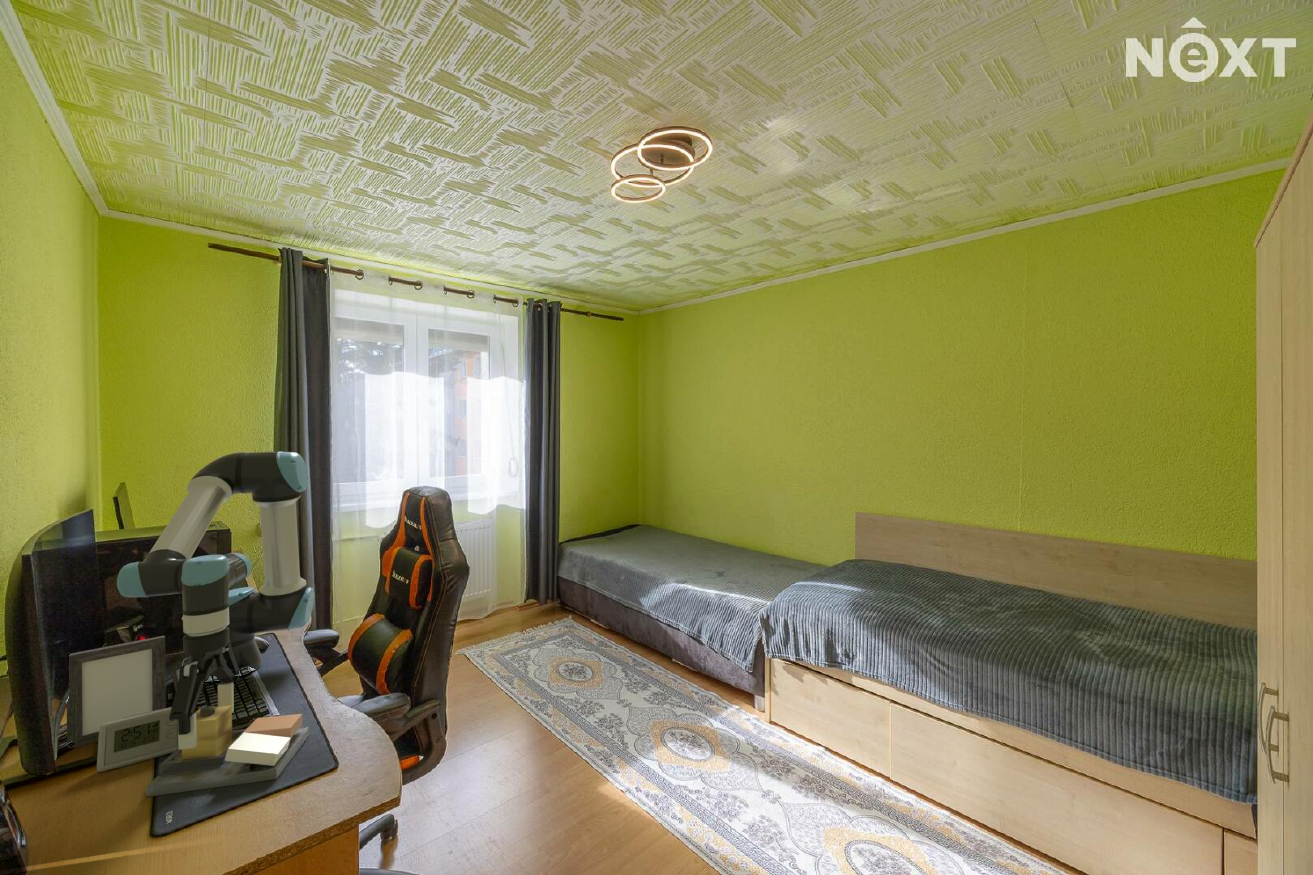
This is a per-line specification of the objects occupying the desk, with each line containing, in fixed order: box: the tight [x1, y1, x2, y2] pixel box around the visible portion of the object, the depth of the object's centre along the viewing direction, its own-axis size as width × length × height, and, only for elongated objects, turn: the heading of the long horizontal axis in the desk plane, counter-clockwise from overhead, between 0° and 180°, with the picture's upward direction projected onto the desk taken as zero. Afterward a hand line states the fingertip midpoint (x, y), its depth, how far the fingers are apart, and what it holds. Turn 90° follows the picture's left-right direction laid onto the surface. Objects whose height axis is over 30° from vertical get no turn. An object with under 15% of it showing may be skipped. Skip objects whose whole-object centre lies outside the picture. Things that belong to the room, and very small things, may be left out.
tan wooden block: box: [182, 705, 233, 760], centre depth 113 cm, size 6×6×9 cm
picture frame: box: [66, 635, 167, 748], centre depth 123 cm, size 16×2×21 cm, turn 133°
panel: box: [145, 726, 310, 798], centre depth 112 cm, size 16×22×4 cm
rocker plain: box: [225, 732, 291, 766], centre depth 109 cm, size 6×9×2 cm, turn 103°
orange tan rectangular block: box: [243, 713, 304, 738], centre depth 117 cm, size 6×9×2 cm, turn 103°
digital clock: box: [96, 706, 179, 773], centre depth 115 cm, size 14×8×9 cm, turn 116°
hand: (208, 729), depth 113 cm, fingers open, 13 cm apart
